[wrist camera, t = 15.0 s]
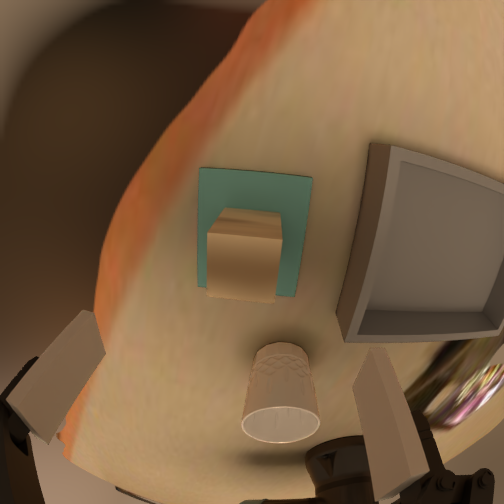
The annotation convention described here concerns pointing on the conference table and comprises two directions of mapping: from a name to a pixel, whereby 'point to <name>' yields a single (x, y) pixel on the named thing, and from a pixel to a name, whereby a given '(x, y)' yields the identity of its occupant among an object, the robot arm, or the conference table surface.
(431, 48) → the conference table surface
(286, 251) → the teal mat
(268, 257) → the maple block
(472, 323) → the crate
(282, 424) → the white cup
